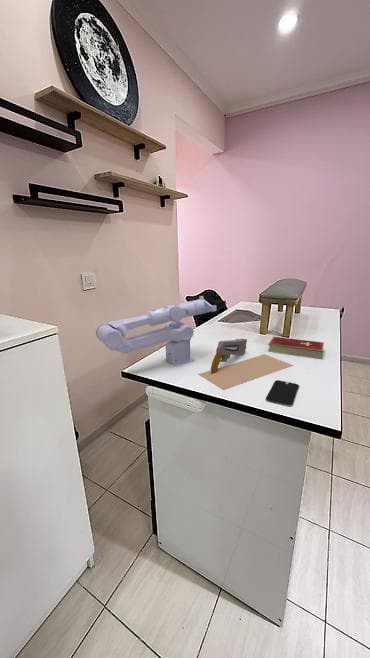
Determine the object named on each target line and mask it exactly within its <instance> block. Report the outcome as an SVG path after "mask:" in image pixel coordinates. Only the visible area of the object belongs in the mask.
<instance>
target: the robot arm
mask: <svg viewBox="0 0 370 658" xmlns="http://www.w3.org/2000/svg"><path fill="white" fill-rule="evenodd" d="M226 306H227V301H226V300H216V299H215V298H212V297H211V298H210V297H207V298H206V297H204V296H202V295H201V296H197V297H196V300H191V301H186V302H183V303H182V302H181V303H177V304H174V305H173V304H165V305H163V307H160V308H155V307H151V308H150V310H147V312H145V314H144V315H139V316H133V317H128V318H124V319H118V320H112V321H108V322H107V323H101V324H99V325H98V326H97V328H96V330H95V336H96V338H97V339H98V340H99V341H100V342H101V343H103V345H104V346H105V347H106V348H108V349H109V350H110V351H115V352H119V353H122V354H129V353H132V352H136V351H140V350H143V349H146V348H148V347H153V346H155V345H160V344H163V343H165V359H164V360H165V361H166V362H168V363H170V364H171V365H172V366H174V367H176V366H177V367H178V366H181V365H184V364H188V363H191V362H195V360H196V359H195V358H193V357H191V339H192V338H193V336H194V334H195V333H194V332H195V331H194V328H193V326H192V325H190V324H187V323H183V322H181V320H182V319H185V318H189V317H193V316H194V317H195V316H197V315H202V314H206V313H211V314H212V315H216V314H218V312H219V311H220V310H222V309H223V308H225V307H226ZM170 321H171V322H170ZM168 322H170V323H168ZM166 323H168V324H166ZM162 324H166V325H164V327H162V328H159V329H158V328H157V329H154V330H151V331H147V332H144V333H139V334H135V335H132V336H128V337H126V336H127V334H128V331H131V330H133V329H136V328H139V327H142V326H145V325H149V326H150V327H154V326H158V325H159V326H160V325H162Z"/></svg>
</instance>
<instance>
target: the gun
mask: <svg viewBox="0 0 370 658" xmlns="http://www.w3.org/2000/svg"><path fill="white" fill-rule="evenodd" d="M247 343H248V340H247V339H246V338H235V339H231V340H230V339H229V340H220V341H218V343H217V347H216V349H215V350H216V351H215V354H214V357H213V359H212V362H211V366H210V370H211V372H214V373H215V372H217V369H218V368H219V365H220V363H221V362H222V363H227V362H228V360H229V359H231V357H232V356H237V355H238V356H239V355H240V356H244V355H245V353H246V349H247Z"/></svg>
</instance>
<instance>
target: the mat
mask: <svg viewBox="0 0 370 658" xmlns="http://www.w3.org/2000/svg"><path fill="white" fill-rule="evenodd" d="M293 366H294V365H293V364H291V363H288V362H286V361H283V360H281V359H278V358H275V357H272V356H269V355H267V354H265V353H264V354H261V355H257V356H255V357H251V358H247V359H244V360H241V361H237V362H234V363H231V364H227V365H224V366H220V367H218V369H217V372H215V373H214V372H211V369H210V370H207V371H204V372H200V373H198V374H197V375H198V376H200V377H201V378H204V379H205V380H206V381H208V382H210V383H211V384H213V385H214V386H216V387H218V388H219V389H220V390H223V391H225V390H228V389H231V388H233V387H236V386H240V385H242V384H245V383H247V382H250V381H254V380H256V379H260V378H261V377H265V376H267V375H271V374H273V373H275V372H279V371H281V370H284V369H287V368H290V367H293Z"/></svg>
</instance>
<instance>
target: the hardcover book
mask: <svg viewBox="0 0 370 658" xmlns="http://www.w3.org/2000/svg"><path fill="white" fill-rule="evenodd" d="M267 344H268V345H269V346H268V352H269V353H271V352H272V353H277V354H278V353H279V354H286V355H292V356H299V357H305V358H310V359H312V358H313V359H320V360H321V358H322V353H323V352H324V344H325V343H324V342H323V341H314V340H307V339H298V338H297V339H296V338H288V337H279V336H272V338H271V340H269V342H268V343H267Z"/></svg>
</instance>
